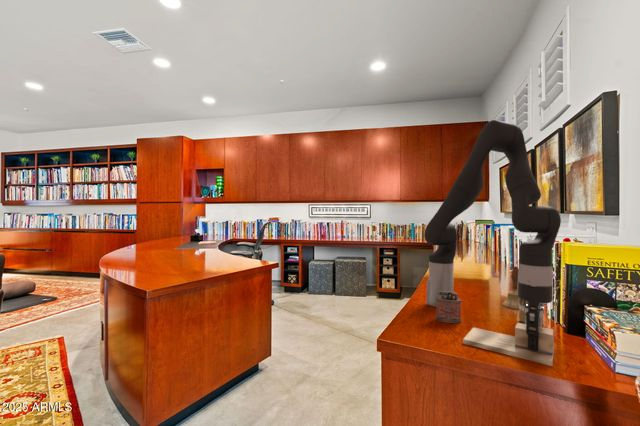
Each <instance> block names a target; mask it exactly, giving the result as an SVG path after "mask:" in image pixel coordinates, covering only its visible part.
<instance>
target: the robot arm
mask: <svg viewBox="0 0 640 426" xmlns="http://www.w3.org/2000/svg"><path fill="white" fill-rule="evenodd" d="M491 151H492V152H497V153H503V154H504V155H505V157H506V159H507V160H508V163H509V164H508V168H507V169H506V172H505V175H504V177H505V178H504V180H505V181H504V182H505V186H506V189H507V191H508V194H509V197H510V199H511V223H512V226H513V227H514V228H515V229H516V230H517V231H518V232H519V233H520V232H521V233H525V234H526V233H528V234H529V233H530V234H531V233H532V234H533V233H535V234H536V235H535V237H534V239H532V240H528V241H524V242H521V244H520V245H519V252H518V253H519V254H518V255H519V257H518V258H519V261H518V263H519V264H518V283H517V288H518V289H517V291H518V297H519V298H520V299H522V300H526V301H528V305H526V307H525V313H526V319H525V323H524V324H526V334H527V335H528V349H529V350H533V351H538V342H539V336H540V334H539V328H541V327H542V328H543V324H544V314H545V307H544V306H543V307H542V303H543V304H549V303H552V302H553V295H554V293H553V289H554V287H553V285H554V284H553V283H554V281H553V279H554V277H553V275H554V273H553V269H552V268H553V267H552V266H553V265H552V264H553V262H552V257H553V256H552V255H553V254H552V253H553V252H552V251H553V248H554V246H555V242H556V239H557V237H558V235H559V234H558V233H559V230H560V228H561V222H562V219H561V218H562V217H561V214H560V212H559V211H558V210H557V209H556V208H555V207H553V206H549V205H548V206H545V205H544V206H543V205H540V206H539V205H538V206H537V205H536V206H535V205H532V204H536V203H537V202H538V201H540V199H541V197H542V193H541V190H540V187H539V184H538V183H537V181H536V178H535V176H534V173H533V171H532V169H531V165H530V162H529V156H528V151H527V147H526V142H525V137H524V134H523V129H521V127H520V126H518V125H517V124H514V123H510V122H506V121H502V120H498V119H492V120H490V121H488V122H487V123H486V124H485V125H484V126H483V127H482V129H481V131H480V132H479V134H478V136H477V139H476V141H475V142H474V145H473V147H472V149H471V151H470V154H469V156H468V158H467V160H466V161H465V164H464V165H463V166H462V167H463V168H462V169H461V170H460V173H459V175H458V176H457V178H456V179H455V181H454V183H453V184H452V187H451V188H450V189H449V191H448V193H447V196H446V197H445V199H444V200H443V202H442V204H441V205H440V207H439V209H437V210H436V213H435V214H434V215H433V216H432V218H431V219H430V221H428V222H429V223H428V224H427V225H426V227H425V229H424V235H423V236H424V240H425V242H426V243H427V244H428V245H432V246H438V247H437V249H436V250H434V252H432V253H430V254H429V255H428V279H427V281H426V305H428V306H431V307H433V308H436V297H442V295H438V291H446V292H448V291H451V292H452V293H454V266H455V265H454V259H455V257H456V253H457V242H458V241H457V240H458V234H457V229H456V226H455V225H454V224H453V223H451V222H452V221H453V220H454V219H456V218H457V217H458V216H459V215H461V214H462V213H464V212H465V211H466V210H468V209H469V208H470V207H471V206H472V205H474V203H475V202H476V201H477V198H478V197H479V196H480V194H481V192H482V190H483V187H484V164H485V162H486V159H487V157H488V155H489V154H490V153H491ZM444 296H445V295H444ZM445 297H446V296H445ZM542 323H543V324H542ZM530 327H534V328H536V331H534V330H530Z"/></svg>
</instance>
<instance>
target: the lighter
mask: <svg viewBox="0 0 640 426" xmlns="http://www.w3.org/2000/svg"><path fill="white" fill-rule="evenodd" d="M438 295H442V297H436V307H435V308H436V310H435V314H436V315H435V320H436V321H438V322H443V323H444V322H445V323H452V324H461V323H462V317H461V316H462V315H461V314H462V313H461V312H462V306H461V305H462V299H460V298H458V293H457V292H453V293H452V292H451V291H448V292H446V291H438ZM444 295H445V296H446V297H445V296H444Z"/></svg>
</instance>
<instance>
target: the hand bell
mask: <svg viewBox="0 0 640 426" xmlns="http://www.w3.org/2000/svg"><path fill="white" fill-rule="evenodd" d="M518 269H519V266H513V268H512V270H511V279H512V289H511V291H510V290H509V291H508V293H507V298H506V300H505V301H504V302H503V303H502V306H504V307H506V308H510V309H513V310H514V309H515V310H519V297H518Z"/></svg>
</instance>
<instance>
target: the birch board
mask: <svg viewBox="0 0 640 426" xmlns="http://www.w3.org/2000/svg"><path fill="white" fill-rule="evenodd" d="M462 344H463V345H467V346H473V347H477V348H479V349H484V350H488V351H491V352H496V353H500V354H503V355H508V356H510V357H515V358H518V359H523V360H527V361H531V362H535V363H539V364H543V365H545V366H550V367H553V361H554V356H555V355H554V354H555V345H554V344H553V355H549V354H545V353H540V352H536V351H532V350H528V349H523V348H519V347H515V335H514V336H513V335H509V334H505V333H500V332H495V331H491V330H486V329H482V328H478V327H475V326H474V327H472V328H471V330H470V331H469V332H468V333H467V334H466V335H465V337H463V339H462Z"/></svg>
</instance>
